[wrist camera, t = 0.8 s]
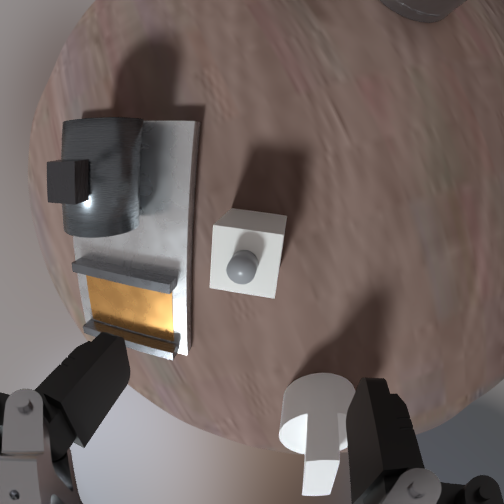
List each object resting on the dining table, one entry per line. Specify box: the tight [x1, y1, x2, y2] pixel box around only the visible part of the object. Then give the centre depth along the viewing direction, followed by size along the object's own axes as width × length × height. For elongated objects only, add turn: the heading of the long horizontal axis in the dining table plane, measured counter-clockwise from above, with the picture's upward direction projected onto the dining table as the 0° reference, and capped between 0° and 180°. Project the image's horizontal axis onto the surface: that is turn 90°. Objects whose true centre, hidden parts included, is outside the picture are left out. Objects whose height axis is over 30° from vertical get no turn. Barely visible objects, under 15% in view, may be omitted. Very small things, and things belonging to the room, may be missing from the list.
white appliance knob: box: [279, 373, 355, 496], centre depth 27 cm, size 9×9×12 cm
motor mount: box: [47, 117, 200, 360], centre depth 25 cm, size 24×14×10 cm, turn 174°
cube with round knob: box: [210, 208, 287, 298], centre depth 24 cm, size 5×5×8 cm
